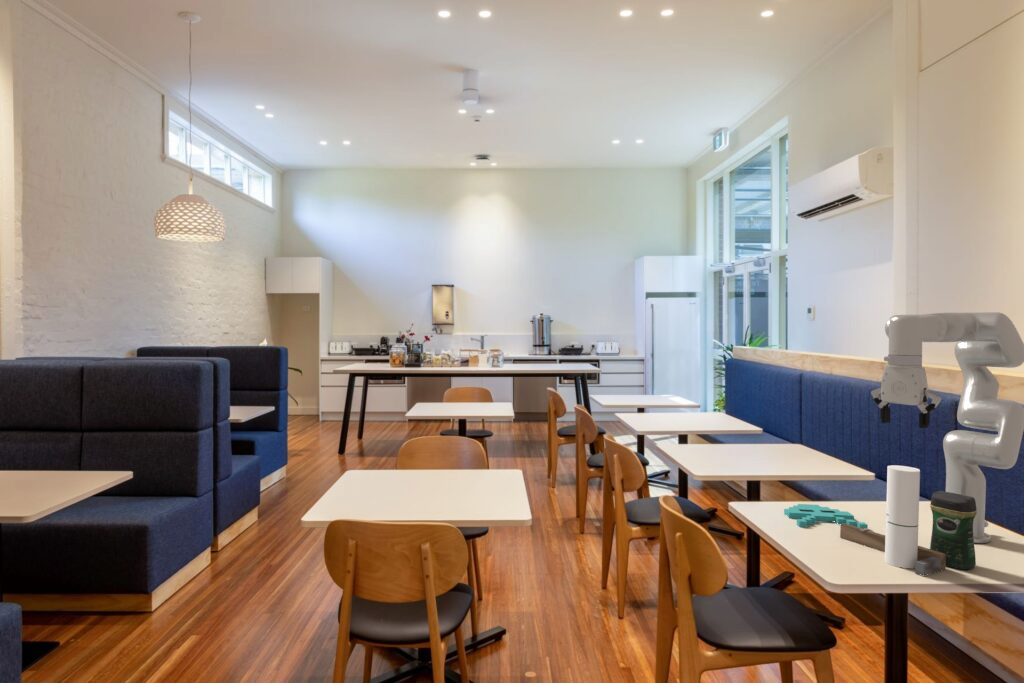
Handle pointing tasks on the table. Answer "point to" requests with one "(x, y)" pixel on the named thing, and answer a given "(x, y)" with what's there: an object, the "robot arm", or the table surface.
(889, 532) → the cylindrical container
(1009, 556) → the table surface
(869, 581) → the table surface
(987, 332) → the robot arm
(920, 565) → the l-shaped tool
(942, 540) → the coffee jar
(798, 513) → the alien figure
